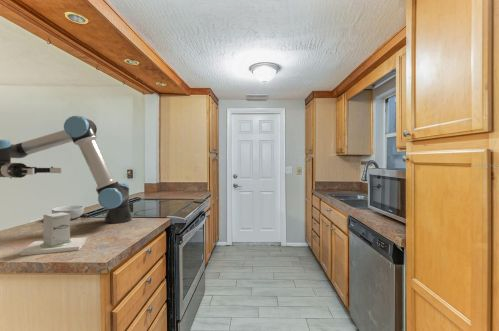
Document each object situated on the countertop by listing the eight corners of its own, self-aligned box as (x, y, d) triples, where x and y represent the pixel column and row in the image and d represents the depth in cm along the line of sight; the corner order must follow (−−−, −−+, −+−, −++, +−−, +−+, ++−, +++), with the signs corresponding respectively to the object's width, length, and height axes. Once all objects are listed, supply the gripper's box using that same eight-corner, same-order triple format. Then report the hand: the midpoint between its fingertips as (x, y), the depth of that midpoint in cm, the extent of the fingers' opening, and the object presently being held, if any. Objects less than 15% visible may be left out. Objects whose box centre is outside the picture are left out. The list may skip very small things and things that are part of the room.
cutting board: (86, 240, 125) (86, 236, 124) (79, 250, 111) (79, 246, 111) (34, 244, 117) (34, 240, 117) (19, 255, 104) (19, 251, 104)
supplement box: (51, 246, 110) (51, 216, 110) (42, 243, 114) (42, 214, 113) (70, 242, 116) (70, 213, 116) (62, 239, 120) (61, 211, 120)
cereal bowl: (46, 219, 164) (46, 208, 164) (74, 215, 179) (74, 204, 179) (61, 223, 156) (61, 211, 156) (89, 217, 171) (89, 206, 171)
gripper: (39, 176, 148) (70, 177, 143) (-15, 179, 124) (20, 180, 119) (39, 162, 148) (70, 163, 143) (-15, 163, 124) (20, 163, 119)
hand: (47, 171), depth 131 cm, fingers open, 13 cm apart
